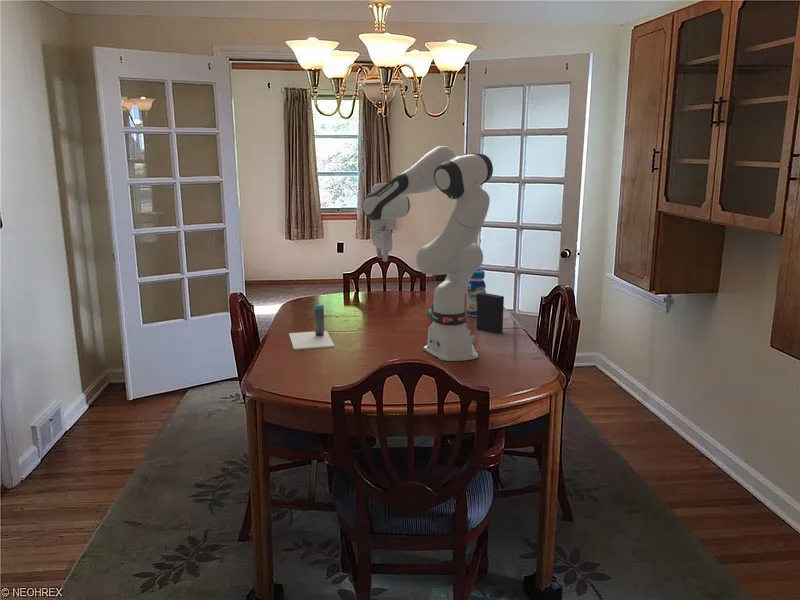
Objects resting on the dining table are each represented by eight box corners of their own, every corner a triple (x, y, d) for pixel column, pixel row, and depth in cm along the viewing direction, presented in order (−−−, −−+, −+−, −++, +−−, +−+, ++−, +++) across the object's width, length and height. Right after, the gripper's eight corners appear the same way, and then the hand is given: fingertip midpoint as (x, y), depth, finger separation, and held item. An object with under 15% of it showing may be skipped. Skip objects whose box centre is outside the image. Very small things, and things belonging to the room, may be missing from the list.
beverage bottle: (484, 312, 289) (485, 269, 284) (486, 317, 281) (487, 272, 276) (465, 312, 289) (466, 269, 285) (466, 317, 281) (468, 272, 276)
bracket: (449, 323, 272) (450, 305, 270) (434, 323, 271) (434, 305, 269) (441, 313, 289) (441, 296, 287) (426, 313, 288) (426, 296, 286)
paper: (334, 347, 237) (334, 345, 236) (293, 350, 233) (293, 348, 233) (326, 332, 256) (326, 330, 256) (289, 334, 253) (288, 333, 253)
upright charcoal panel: (503, 332, 257) (505, 295, 254) (497, 334, 254) (499, 297, 251) (481, 327, 265) (482, 291, 261) (475, 329, 261) (476, 293, 258)
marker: (325, 336, 249) (324, 306, 246) (315, 336, 248) (314, 306, 245) (323, 333, 252) (323, 303, 250) (314, 334, 252) (313, 304, 249)
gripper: (396, 227, 241) (396, 263, 244) (384, 221, 260) (384, 255, 263) (380, 227, 239) (380, 264, 243) (369, 222, 259) (369, 256, 262)
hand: (382, 259), depth 253 cm, fingers open, 8 cm apart
